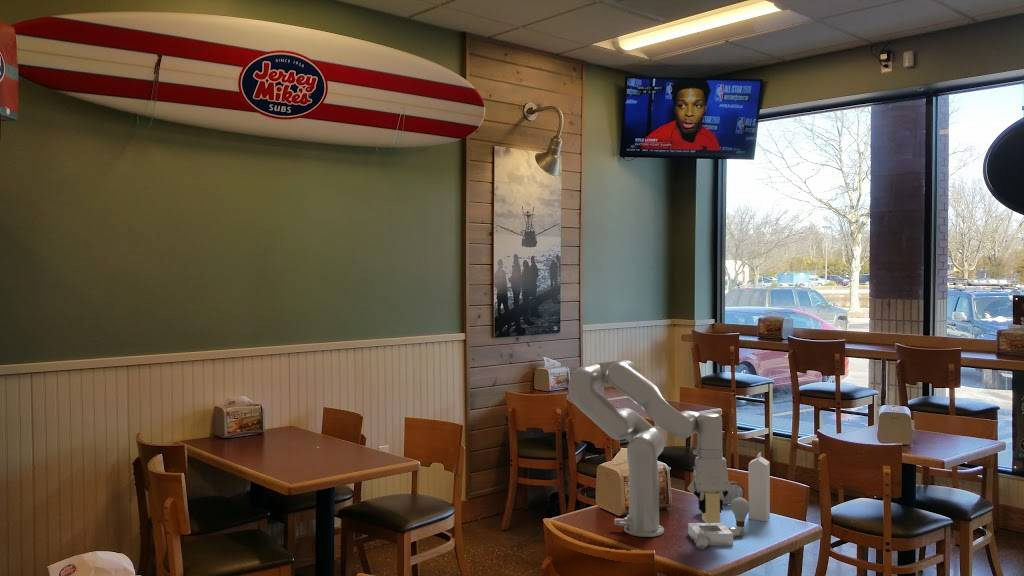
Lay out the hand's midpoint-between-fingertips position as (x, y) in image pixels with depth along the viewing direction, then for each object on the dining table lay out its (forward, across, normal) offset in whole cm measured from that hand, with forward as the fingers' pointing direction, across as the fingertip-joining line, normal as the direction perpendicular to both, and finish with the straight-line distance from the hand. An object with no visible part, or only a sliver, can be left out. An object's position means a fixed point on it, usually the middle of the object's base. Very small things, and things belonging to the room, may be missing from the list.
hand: (710, 511), depth 248 cm
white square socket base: (+9, 0, 0) cm, 9 cm away
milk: (+9, +23, +22) cm, 33 cm away
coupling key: (+3, 0, 0) cm, 3 cm away
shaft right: (+9, +8, +2) cm, 12 cm away
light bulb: (+9, +13, +11) cm, 19 cm away
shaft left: (+9, -4, -7) cm, 12 cm away
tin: (+9, +16, +39) cm, 43 cm away
